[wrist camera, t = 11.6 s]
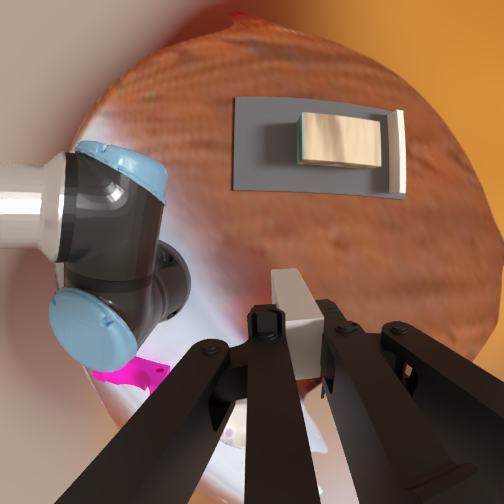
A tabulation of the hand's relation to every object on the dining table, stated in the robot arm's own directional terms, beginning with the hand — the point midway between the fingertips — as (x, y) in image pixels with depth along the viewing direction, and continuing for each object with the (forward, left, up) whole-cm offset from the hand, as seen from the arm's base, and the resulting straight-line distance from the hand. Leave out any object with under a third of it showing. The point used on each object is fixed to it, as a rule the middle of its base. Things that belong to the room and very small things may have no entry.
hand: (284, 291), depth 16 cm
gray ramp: (+9, +14, -29) cm, 34 cm away
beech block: (+4, +14, -26) cm, 30 cm away
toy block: (-27, -30, -30) cm, 50 cm away
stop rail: (+21, +14, -29) cm, 38 cm away
